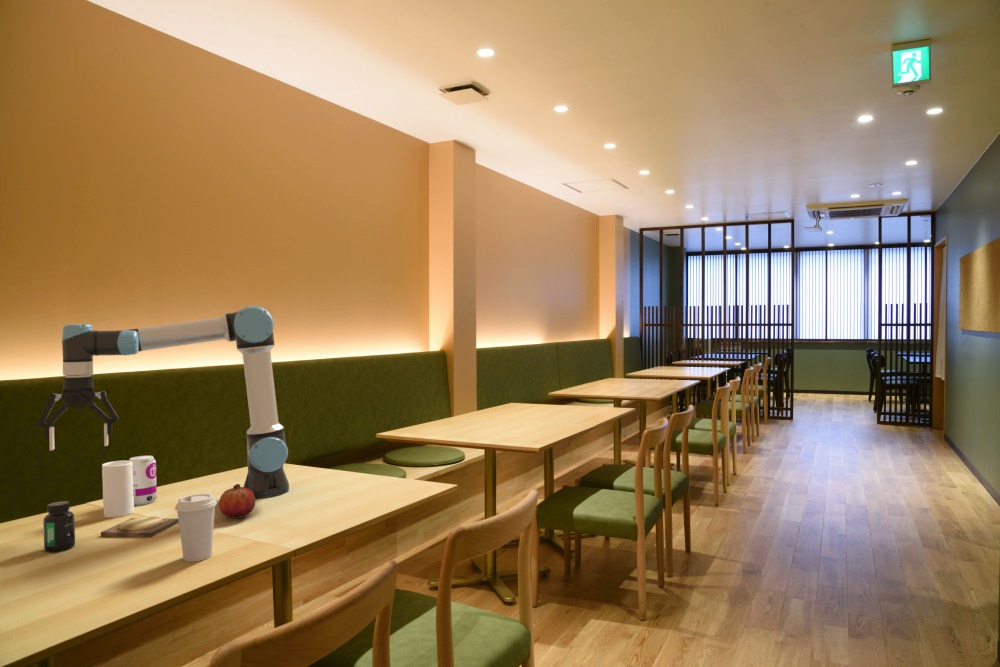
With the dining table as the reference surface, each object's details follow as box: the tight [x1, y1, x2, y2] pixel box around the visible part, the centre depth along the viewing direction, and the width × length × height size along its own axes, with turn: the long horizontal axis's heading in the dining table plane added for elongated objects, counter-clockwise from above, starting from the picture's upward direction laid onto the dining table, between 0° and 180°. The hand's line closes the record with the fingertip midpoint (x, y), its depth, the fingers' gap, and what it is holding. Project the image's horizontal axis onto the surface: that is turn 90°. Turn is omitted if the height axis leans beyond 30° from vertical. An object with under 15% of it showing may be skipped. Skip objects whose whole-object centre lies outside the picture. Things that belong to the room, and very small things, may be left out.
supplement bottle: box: [42, 500, 76, 553], centre depth 171 cm, size 7×7×12 cm
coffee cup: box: [174, 493, 218, 563], centre depth 162 cm, size 10×10×15 cm
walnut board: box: [100, 516, 179, 538], centre depth 186 cm, size 15×13×2 cm
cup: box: [101, 459, 135, 518], centre depth 202 cm, size 8×8×16 cm
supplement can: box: [128, 455, 158, 506], centre depth 215 cm, size 8×8×15 cm
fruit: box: [218, 483, 256, 519], centre depth 195 cm, size 11×10×10 cm
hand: (79, 447), depth 191 cm, fingers open, 13 cm apart
